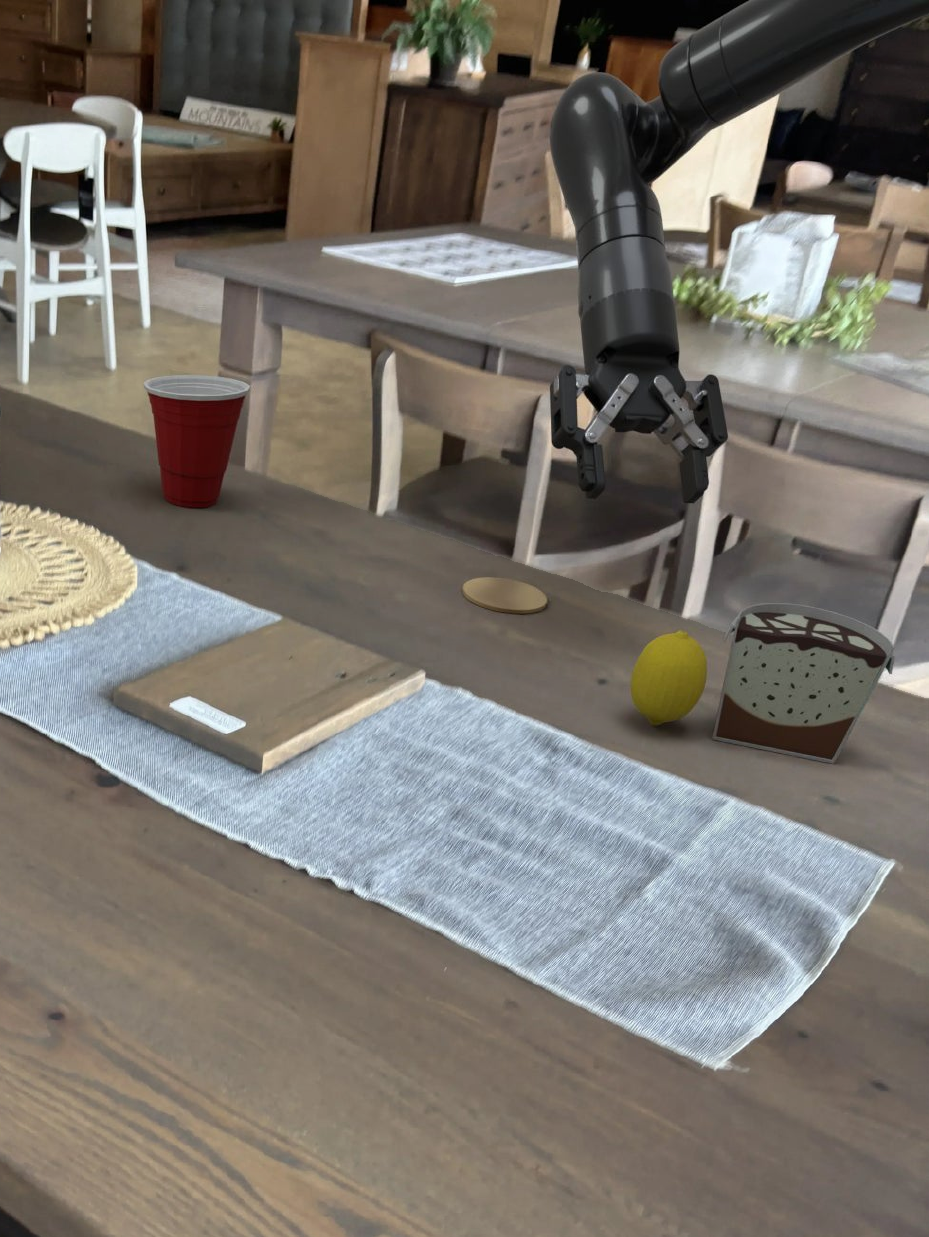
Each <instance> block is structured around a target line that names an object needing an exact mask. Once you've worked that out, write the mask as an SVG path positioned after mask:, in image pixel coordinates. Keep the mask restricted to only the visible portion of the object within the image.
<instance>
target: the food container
mask: <svg viewBox="0 0 929 1237" xmlns="http://www.w3.org/2000/svg"><path fill="white" fill-rule="evenodd" d="M732 633H733V635H732V641H731V645H730V649H729V655H728V659H727V665H726V668H725V674H724V679H723V684H722V689H721V693H720V699H719V703H718V707H717V708H718V709H717V713H716V716H715V722H714V727H713V732H712V737H711V738H712V740H713V741H714V740H715V741H718V742H725V743H728V744H734V745H737V746H744V747H749V748H753V749H758V750H763V751H768V752H773V753H778V754H782V755H787V756H793V757H797V758H803V759H806V760H807V759H808V760H812V761H817V762H821V763H822V762H823V763H827V764H831V765H834V764H835V763H836V762H837V759H838V758H839V755H840V754H841V752H842V750H843V748H844V746H845V745H846V742H847V740H848V739H849V737H850V735H851V733H852V731H853V729H854V727H855V725H856V723H857V722H858V720H859V718H860V716H861V714H862V712H863V711H864V708H865V706H866V705H867V703H868V701H869V699H870V697H871V695H872V693H873V691H874V689H875V687H876V686H877V684H878V682H879V680H880V678H881V676H882V674H883V672H884V671H885V669H886V670H887V672H888V674H889V675H893V669H894V663H895V658H896V656H895V653H894V650H895V646H894V643H893V642H892V640H891V639H889V638H888V637H887V636H886V635H884V634H883V633H882V632H880V631H879V630H878V629H876V628H875V627H873V626H871V625H868V624H866V623H864V622H862V621H861V620H858V619H855V618H853V617H850V616H847V615H845V614H841V613H838V612H835V611H831V610H827V609H824V608H821V607H820V608H819V607H816V606H815V607H814V606H810V605H804V604H797V603H796V604H795V603H787V602H786V603H785V602H765V603H758V604H753V605H750V606H747V607H745V608H743V609H742V610H741V611H740V612H739V613H738V614H737V616H736V617H735V618H734V619H733V620H732V622H731V624H730V626H729V627H728V629H727V631H726V632H725V634H724V636H723V640H722V643H724V644H725V643H726V642H727V640H728V638H729V637H730V635H731V634H732Z"/></svg>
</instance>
